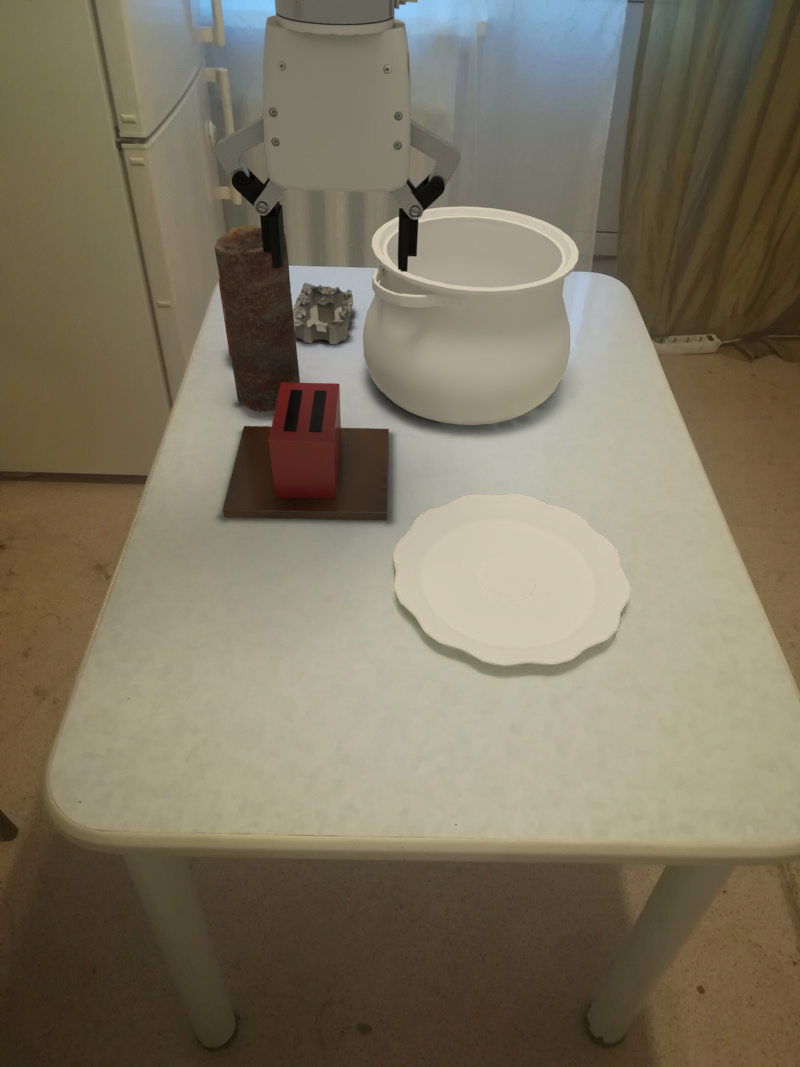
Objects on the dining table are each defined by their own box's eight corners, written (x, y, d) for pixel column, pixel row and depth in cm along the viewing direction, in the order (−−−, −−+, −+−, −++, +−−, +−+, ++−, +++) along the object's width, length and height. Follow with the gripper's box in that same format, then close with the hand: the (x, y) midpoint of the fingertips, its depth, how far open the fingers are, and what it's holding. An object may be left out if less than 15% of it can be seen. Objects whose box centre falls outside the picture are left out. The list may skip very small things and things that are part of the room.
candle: (273, 429, 84) (253, 254, 70) (223, 408, 87) (195, 236, 73) (314, 398, 89) (303, 228, 75) (266, 379, 92) (247, 212, 78)
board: (223, 517, 73) (222, 510, 73) (245, 433, 84) (243, 425, 83) (387, 520, 74) (387, 512, 73) (388, 435, 84) (388, 428, 83)
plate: (451, 481, 78) (452, 469, 77) (649, 550, 72) (654, 537, 70) (350, 616, 65) (349, 603, 64) (583, 716, 58) (587, 704, 57)
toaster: (342, 431, 83) (340, 375, 78) (335, 498, 74) (333, 441, 70) (287, 430, 83) (282, 374, 78) (275, 497, 74) (268, 439, 69)
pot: (451, 467, 80) (464, 322, 68) (320, 370, 94) (312, 235, 82) (606, 388, 92) (639, 253, 81) (469, 312, 106) (481, 187, 94)
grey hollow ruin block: (345, 347, 98) (345, 318, 95) (289, 343, 98) (286, 314, 95) (357, 308, 106) (357, 281, 103) (304, 305, 106) (302, 277, 103)
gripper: (467, -9, 50) (448, 246, 62) (206, -18, 49) (236, 241, 61) (478, 12, 44) (454, 287, 56) (183, 1, 44) (222, 281, 56)
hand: (341, 262), depth 59 cm, fingers open, 9 cm apart
